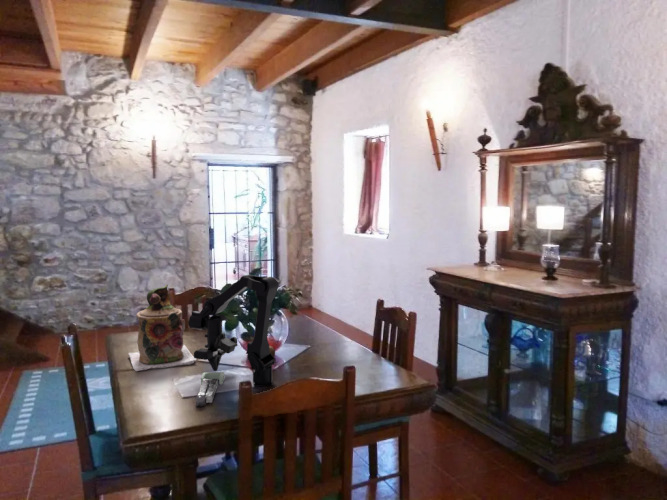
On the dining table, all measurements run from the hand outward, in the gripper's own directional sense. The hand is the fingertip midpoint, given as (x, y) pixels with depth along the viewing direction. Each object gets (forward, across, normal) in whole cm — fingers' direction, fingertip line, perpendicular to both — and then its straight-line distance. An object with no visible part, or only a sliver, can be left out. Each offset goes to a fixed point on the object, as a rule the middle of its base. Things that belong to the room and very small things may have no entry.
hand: (215, 370), depth 205 cm
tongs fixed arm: (+2, -17, -11) cm, 20 cm away
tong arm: (+1, -20, -9) cm, 22 cm away
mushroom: (+2, +24, -8) cm, 26 cm away
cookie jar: (+2, +6, +32) cm, 32 cm away
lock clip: (+1, -7, -4) cm, 8 cm away
